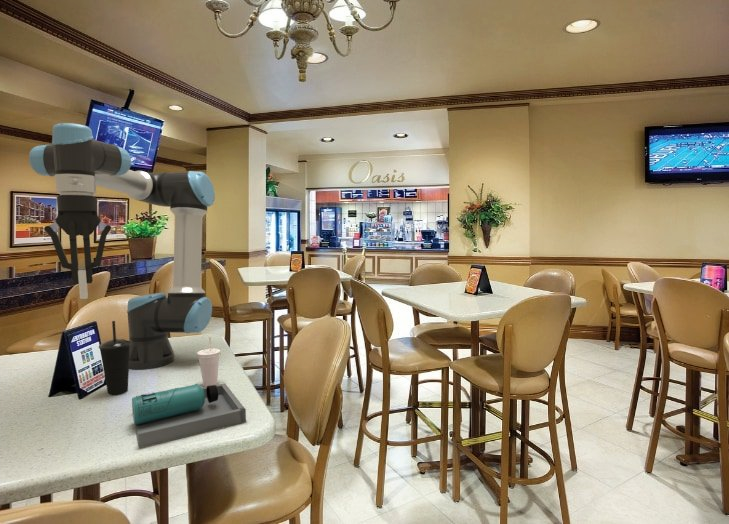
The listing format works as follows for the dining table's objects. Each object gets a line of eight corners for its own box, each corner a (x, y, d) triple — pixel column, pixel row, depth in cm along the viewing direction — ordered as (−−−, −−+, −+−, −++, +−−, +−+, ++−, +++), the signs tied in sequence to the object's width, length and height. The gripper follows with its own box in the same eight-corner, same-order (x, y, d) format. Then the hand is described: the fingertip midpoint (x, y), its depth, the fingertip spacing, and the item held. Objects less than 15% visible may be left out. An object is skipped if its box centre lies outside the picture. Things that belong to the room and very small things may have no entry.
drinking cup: (109, 399, 113) (104, 325, 112) (97, 393, 118) (92, 322, 116) (138, 390, 119) (134, 320, 118) (126, 385, 124) (121, 317, 122)
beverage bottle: (127, 433, 96) (218, 411, 107) (128, 417, 92) (222, 396, 103) (124, 407, 100) (212, 389, 111) (124, 391, 96) (215, 374, 107)
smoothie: (214, 389, 120) (212, 340, 119) (193, 387, 121) (191, 339, 120) (226, 381, 126) (224, 334, 125) (206, 379, 127) (204, 333, 126)
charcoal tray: (133, 413, 105) (133, 401, 104) (225, 394, 116) (225, 383, 116) (139, 448, 88) (138, 434, 87) (246, 421, 99) (245, 409, 99)
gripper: (38, 192, 90) (47, 303, 92) (110, 194, 97) (117, 297, 99) (42, 195, 96) (50, 298, 98) (109, 196, 103) (116, 293, 105)
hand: (83, 297), depth 99 cm, fingers closed
